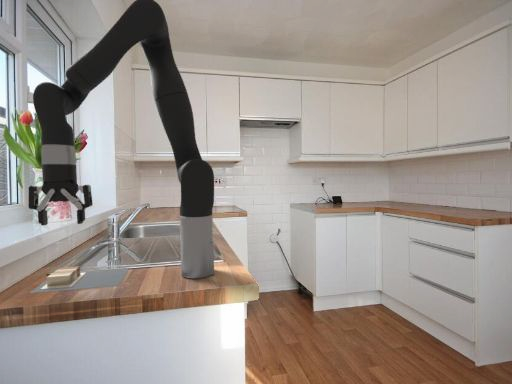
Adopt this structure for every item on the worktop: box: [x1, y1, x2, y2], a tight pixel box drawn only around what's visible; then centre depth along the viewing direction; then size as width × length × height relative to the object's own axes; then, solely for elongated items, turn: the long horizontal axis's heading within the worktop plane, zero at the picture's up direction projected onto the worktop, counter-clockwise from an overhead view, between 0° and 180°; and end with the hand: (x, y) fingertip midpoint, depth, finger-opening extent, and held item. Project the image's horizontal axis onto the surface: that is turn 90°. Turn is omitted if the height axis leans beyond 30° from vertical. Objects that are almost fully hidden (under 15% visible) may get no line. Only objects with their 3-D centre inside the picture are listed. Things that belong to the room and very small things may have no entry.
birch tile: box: [46, 265, 81, 286], centre depth 79 cm, size 8×5×2 cm, turn 13°
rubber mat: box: [29, 267, 130, 294], centre depth 80 cm, size 20×15×1 cm
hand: (62, 224), depth 78 cm, fingers open, 8 cm apart
